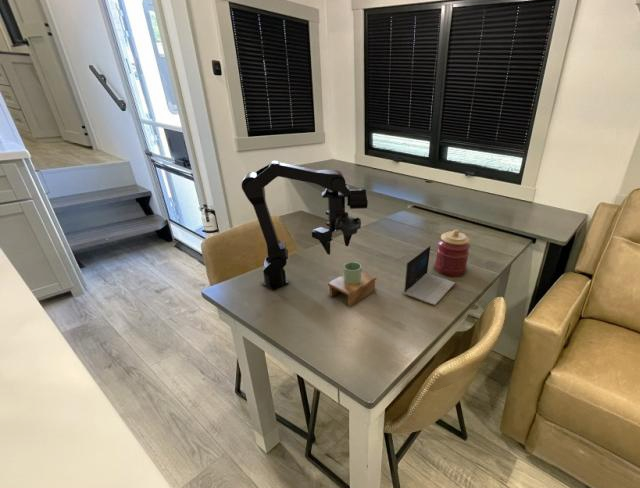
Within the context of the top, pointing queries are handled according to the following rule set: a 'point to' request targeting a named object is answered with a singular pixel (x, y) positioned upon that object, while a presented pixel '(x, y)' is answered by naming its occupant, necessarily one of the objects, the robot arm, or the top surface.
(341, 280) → the shelf
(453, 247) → the kitchen canister
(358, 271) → the ramekin
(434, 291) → the laptop
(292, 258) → the top surface
